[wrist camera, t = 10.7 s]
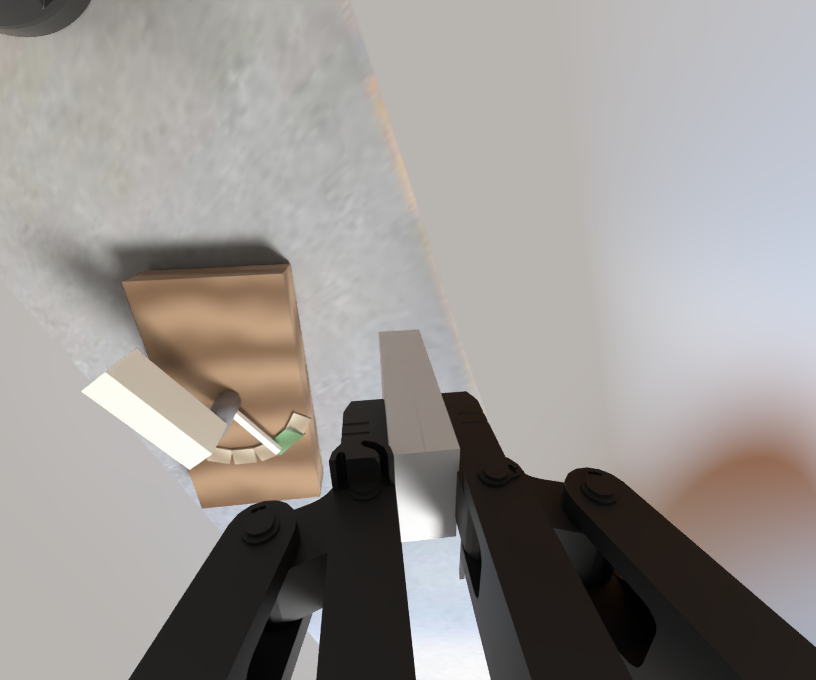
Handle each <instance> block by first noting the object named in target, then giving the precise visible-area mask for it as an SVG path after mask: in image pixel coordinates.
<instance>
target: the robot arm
mask: <svg viewBox="0 0 816 680" xmlns="http://www.w3.org/2000/svg"><path fill="white" fill-rule="evenodd" d="M90 1H91V0H0V33H1V34H6V35H11V36H19V37H36V36H43V35H48V34H51V33H54V32H57V31H59V30H61V29H63V28H65V27H67V26H68V25H70V24H71V23H72V22H74V21H75V20H76V19H77V18H78V17H79V16H80V15H81V14H82V13H83V12H84V10H85V9H86V7H87V6H88V5H89V3H90ZM379 345H380V362H381V380H382V396H383V399H376V400H364V401H351V403H350V404H349V405H348V407H347V408H346V409H345V411H344V413H343V426H342V438H341V444H340V445H339V446H338V447H337V448H336V449H335V450H334V451H333V452H332V454H331V457H330V459H329V466H330V473H331V480H332V487H333V488H332V489H331V490H330V491H329V492H328V493H327V494H326V495H325V496H323V497H322V498H321V499H319V500H317V501H315V502H313V503H311V504H308V505H306V506H303V507H300V508H298V509H295V510H294V509H293V508H292V507H291V506H289V505H288V504H287V503H284V502H281V501H278V500H272V501H262V502H260V503H257V504H254V505H251V506H249V507H248V508H246V509H245V510H243V511H242V512H240V513H239V514H238V515H237V516H236V517H235V518H234V519H233V520H232V522H231V523H230V524H229V525H228V527H227V528H226V530H225V531H224V533H223V534H222V536H221V538H220V539H219V541H218V542H217V544H216V545H215V547H214V548H213V550H212V551H211V553H210V555H209V556H208V558H207V559H206V561H205V562H204V564H203V565H202V567H201V568H200V570H199V572H198V573H197V575H196V576H195V578H194V579H193V581H192V582H191V584H190V586H189V587H188V589H187V590H186V592H185V593H184V595H183V596H182V598H181V599H180V601H179V602H178V604H177V606H176V607H175V609H174V610H173V612H172V613H171V615H170V617H169V618H168V620H167V621H166V623H165V624H164V626H163V627H162V629H161V630H160V632H159V633H158V635H157V637H156V638H155V640H154V641H153V643H152V645H151V646H150V647H149V649H148V650H147V652H146V653H145V655H144V657H143V658H142V660H141V661H140V663H139V664H138V666H137V667H136V669H135V670H134V672H133V674H132V675H131V677H130V678H129V680H291V677H292V674H293V671H294V668H295V665H296V662H297V658H298V655H299V652H300V649H301V646H302V643H303V640H304V637H305V634H306V631H307V628H308V625H309V622H310V619H311V616H312V613H313V612H315V611H317V610H319V609H321V608H323V610H322V621H321V633H320V644H319V655H318V667H317V678H316V680H416V676H415V666H414V657H413V647H412V638H411V628H410V619H409V610H408V600H407V591H406V581H405V572H404V562H403V553H402V543H401V542H408V541H417V540H426V539H435V538H444V537H453V536H456V523H457V526H458V530H459V534H460V538H461V549H460V567H459V575H460V579H464V576H465V577H466V581H467V585H468V589H469V593H470V597H471V601H472V605H473V609H474V613H475V617H476V621H477V625H478V629H479V633H480V637H481V641H482V645H483V649H484V653H485V657H486V662H487V666H488V670H489V674H490V678H491V680H816V647H815V646H814V645H813V644H811V643H810V642H809V641H808V640H807V639H806V638H805V637H803V636H802V635H801V634H799V632H797V631H796V630H795V629H794V628H793V627H792V626H790V625H789V624H788V623H787V622H786V621H785V620H784V619H782V618H781V617H780V616H779V615H778V614H777V613H775V612H774V611H773V610H772V609H771V608H770V607H768V606H767V605H766V604H765V603H764V602H763V601H761V600H760V599H759V598H758V597H757V596H755V595H754V594H753V593H752V592H751V591H750V590H749V589H747V588H746V587H745V586H744V585H743V584H742V583H740V582H739V581H738V580H737V579H735V577H733V576H732V575H731V574H730V573H729V572H727V571H726V570H725V569H724V568H723V567H722V566H721V565H719V564H718V563H717V562H716V561H715V560H714V559H712V558H711V557H710V556H709V555H708V554H707V553H706V552H704V551H703V550H702V549H701V548H700V547H699V546H697V545H696V544H695V543H694V542H693V541H692V540H690V539H689V538H688V537H687V536H686V535H685V534H683V533H682V532H681V531H680V530H679V529H677V528H676V527H675V526H674V525H673V524H671V522H669V521H668V520H667V519H666V518H665V517H664V516H662V515H661V514H660V513H659V512H658V511H657V510H655V509H654V508H653V507H652V506H651V505H649V504H648V503H647V502H646V501H645V500H644V499H642V498H641V497H640V496H639V495H638V494H637V493H635V492H634V491H633V490H632V489H631V488H630V487H629V486H627V485H626V484H625V483H624V482H623V481H621V480H620V479H618V478H617V477H615V476H614V475H612V474H610V473H607V472H605V471H602V470H600V469H594V468H587V467H586V468H579V469H575V470H573V471H571V472H570V473H568V475H567V477H566V479H565V482H564V483H563V482H556V481H551V480H544V479H539V478H535V477H531V476H529V475H526V474H525V473H524V471H523V470H522V469H521V467H520V466H519V465H518V464H517V463H515V462H514V461H512V460H511V459H509V458H507V457H505V455H504V453H503V451H502V449H501V447H500V445H499V443H498V441H497V439H496V437H495V435H494V433H493V431H492V429H491V427H490V425H489V423H488V422H487V418H486V416H485V414H484V413H483V410H482V408H481V406H480V404H479V402H478V400H477V399H475V398H474V397H473V396H472V395H470V394H469V393H468V392H467V391H464V392H452V393H441V392H440V389H439V386H438V383H437V380H436V377H435V375H434V372H433V369H432V366H431V363H430V360H429V357H428V354H427V351H426V348H425V346H424V343H423V340H422V337H421V334H420V331H419V330H404V331H387V332H379Z"/></svg>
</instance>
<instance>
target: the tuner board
mask: <svg viewBox="0 0 816 680" xmlns="http://www.w3.org/2000/svg"><path fill="white" fill-rule="evenodd" d="M122 285H123V288H124V290H125V293H126V296H127V299H128V302H129V304H130V307H131V310H132V313H133V316H134V319H135V321H136V324H137V327H138V330H139V333H140V335H141V338H142V341H143V344H144V347H145V350H146V352H147V355H148V358H149V360H150V361H151V362H153V363H154V364H155V365H156V366H157V367H159V368H160V369H161V370H162V371H164V372H165V373H166V374H167V375H168V376H170V377H171V378H172V379H173V380H174V381H176V382H177V383H178V384H179V385H180V386H182V387H183V388H184V389H185V390H187V391H188V392H189V393H190V394H191V395H193V396H194V397H195V398H196V399H197V400H199V401H200V402H201V403H202V404H203V405H205V406H206V407H207V408H208V409H210V407H211V406H212V404H213V403H214V401H215V399H216V398H217V396H218V395H219V394H220V393H221V392H223V391H232V392H235V393H236V394H238V395H239V396H240V398H241V405H240V407H239V409H238V410H239V411H240V412H241V413H242V414H243V415H244V416H246V417H247V418H248V419H249V420H250V421H251V422H253V423H254V424H255V425H256V426H257V427H258V428H260V429H261V430H262V431H263V432H264V433H265V434H267V435H268V436H269V437H270V438H271V439H272V440H274V441H275V442H276V443H277V444H278V445H279V446H281V447H282V449H281V451H280V452H279V453H277V454H275V453H273V452H272V451H271V450H270V449H269V448H267V447H266V446H265V445H264V444H263V443H262V442H260V441H259V440H258V439H257V438H256V437H254V436H253V435H252V434H251V433H250V432H248V431H247V430H246V429H245V428H244V427H242V426H241V425H240V424H239V423H238V422H237V421H235V420H234V419H233V421H232V423H231V425H230V426H229V428H228V430H227V432H226V434H225V435H224V436H223V437H221V438H220V440H219V442H218V444H217V446H216V448H215V450H214V452H213V454H212V455H210V456H209V457H207V458H206V459H204V460H203V461H202V462H200V463H199V464H197V465H196V466H194V467H193V468H192V469H190V470H189V469H188V471H189V473H190V476H191V479H192V482H193V485H194V487H195V490H196V493H197V496H198V499H199V501H200V504H201V507H202V508H212V507H221V506H231V505H241V504H250V503H260V502H262V501H272V500H278V501H280V500H289V499H299V498H309V497H318V496H320V494H321V487H322V479H323V467H322V461H321V455H320V448H319V442H318V436H317V429H316V423H315V417H314V410H313V404H312V398H311V391H310V385H309V379H308V372H307V366H306V359H305V353H304V347H303V340H302V334H301V328H300V321H299V315H298V309H297V302H296V296H295V290H294V283H293V277H292V271H291V264H271V265H251V266H231V267H210V268H190V269H169V270H149V271H143V272H141V273H139V274H137V275H135V276H133V277H131V278H129V279H127V280H125V281H122Z"/></svg>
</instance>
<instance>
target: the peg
mask: <svg viewBox="0 0 816 680" xmlns="http://www.w3.org/2000/svg"><path fill="white" fill-rule="evenodd" d="M82 392H83V393H84V394H86V395H87V396H88V397H90V398H91V399H93V400H94V401H95V402H97V403H98V404H99V405H101V406H102V407H104V408H105V409H106V410H108V411H109V412H111V413H112V414H113V415H115V416H116V417H118V418H119V419H120V420H122V421H123V422H124V423H126V424H127V425H128V426H130V427H131V428H133V429H134V430H135V431H137V432H138V433H139V434H141V435H142V436H144V437H145V438H146V439H148V440H149V441H151V442H152V443H153V444H155V445H156V446H157V447H159V448H160V449H162V450H163V451H164V452H166V453H167V454H168V455H170V456H171V457H173V458H174V459H175V460H177V461H178V462H180V463H181V464H182V465H184V466H185V467H186V468H188V469H189V470H190V469H192V468H193V467H194V466H196V465H197V464H199V463H200V462H202V461H203V460H204V459H206V458H207V457H209V456H210V455H212V454H213V452H214V450H215V448H216V446H217V444H218V442H219V440H220V438H221V437H223V436H224V435H225V434H226V432H227V430H228V428H229V426H230V425H231V423H232V421H233V419H234V420H235V421H237V422H238V423H239V424H240V425H241V426H242V427H244V428H245V429H246V430H247V431H248V432H250V433H251V434H252V435H253V436H254V437H256V438H257V439H258V440H259V441H260V442H262V443H263V444H264V445H265V446H266V447H267V448H269V449H270V450H271V451H272V452H273V453H275V454H277V453H279V452H280V451H281V449H282V447H281V446H279V445H278V444H277V443H276V442H275V441H274V440H272V439H271V438H270V437H269V436H268V435H267V434H265V433H264V432H263V431H262V430H261V429H260V428H258V427H257V426H256V425H255V424H254V423H253V422H251V421H250V420H249V419H248V418H247V417H246V416H244V415H243V414H242V413H241V412H240V411H239V410H238V409H239V407H240V405H241V398H240V396H239V395H238V394H236V393H235V392H232V391H223V392H221V393H220V394H219V395H218V396H217V398H216V399H215V401H214V403H213V404H212V406H211V407H210V409H208V408H207V407H206V406H205V405H203V404H202V403H201V402H200V401H199V400H197V399H196V398H195V397H194V396H193V395H191V394H190V393H189V392H188V391H187V390H185V389H184V388H183V387H182V386H180V385H179V384H178V383H177V382H176V381H174V380H173V379H172V378H171V377H170V376H168V375H167V374H166V373H165V372H164V371H162V370H161V369H160V368H159V367H157V366H156V365H155V364H154V363H153V362H151V361H150V360H149V359H148V358H147V357H145V356H144V355H143V354H142V353H140V352H139V351H138V350H137V349H136V348H135V349H134V350H133V351H131V352H130V353H129V354H128V355H126V356H125V357H124V358H122V359H121V360H120V361H119V362H117V363H116V364H115V365H114V366H112V367H111V368H110V369H109V370H107V371H106V372H105V373H104V374H102V375H101V376H100V377H99V378H97V379H96V380H95V381H94V382H92V383H91V384H90V385H89V386H88V387H86V388H85V389H84V390H82Z"/></svg>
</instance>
